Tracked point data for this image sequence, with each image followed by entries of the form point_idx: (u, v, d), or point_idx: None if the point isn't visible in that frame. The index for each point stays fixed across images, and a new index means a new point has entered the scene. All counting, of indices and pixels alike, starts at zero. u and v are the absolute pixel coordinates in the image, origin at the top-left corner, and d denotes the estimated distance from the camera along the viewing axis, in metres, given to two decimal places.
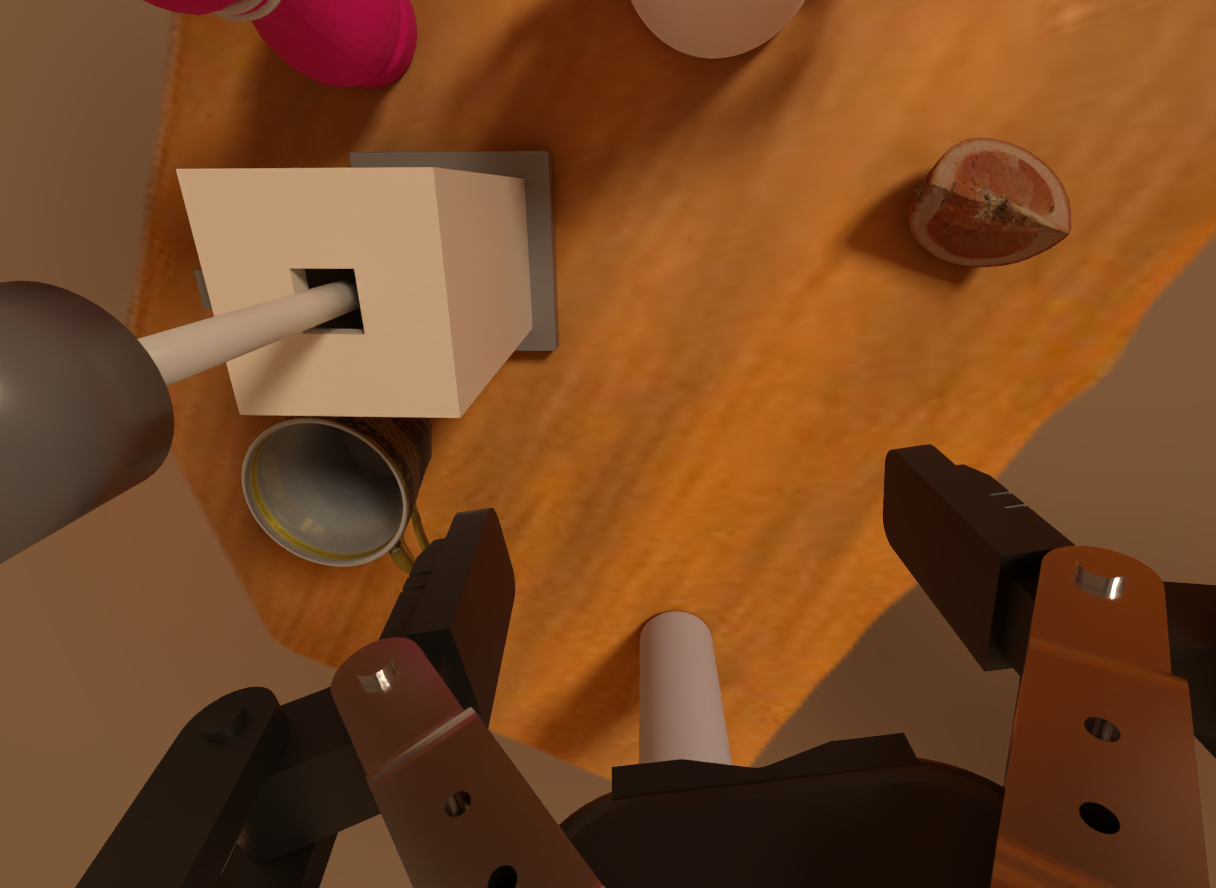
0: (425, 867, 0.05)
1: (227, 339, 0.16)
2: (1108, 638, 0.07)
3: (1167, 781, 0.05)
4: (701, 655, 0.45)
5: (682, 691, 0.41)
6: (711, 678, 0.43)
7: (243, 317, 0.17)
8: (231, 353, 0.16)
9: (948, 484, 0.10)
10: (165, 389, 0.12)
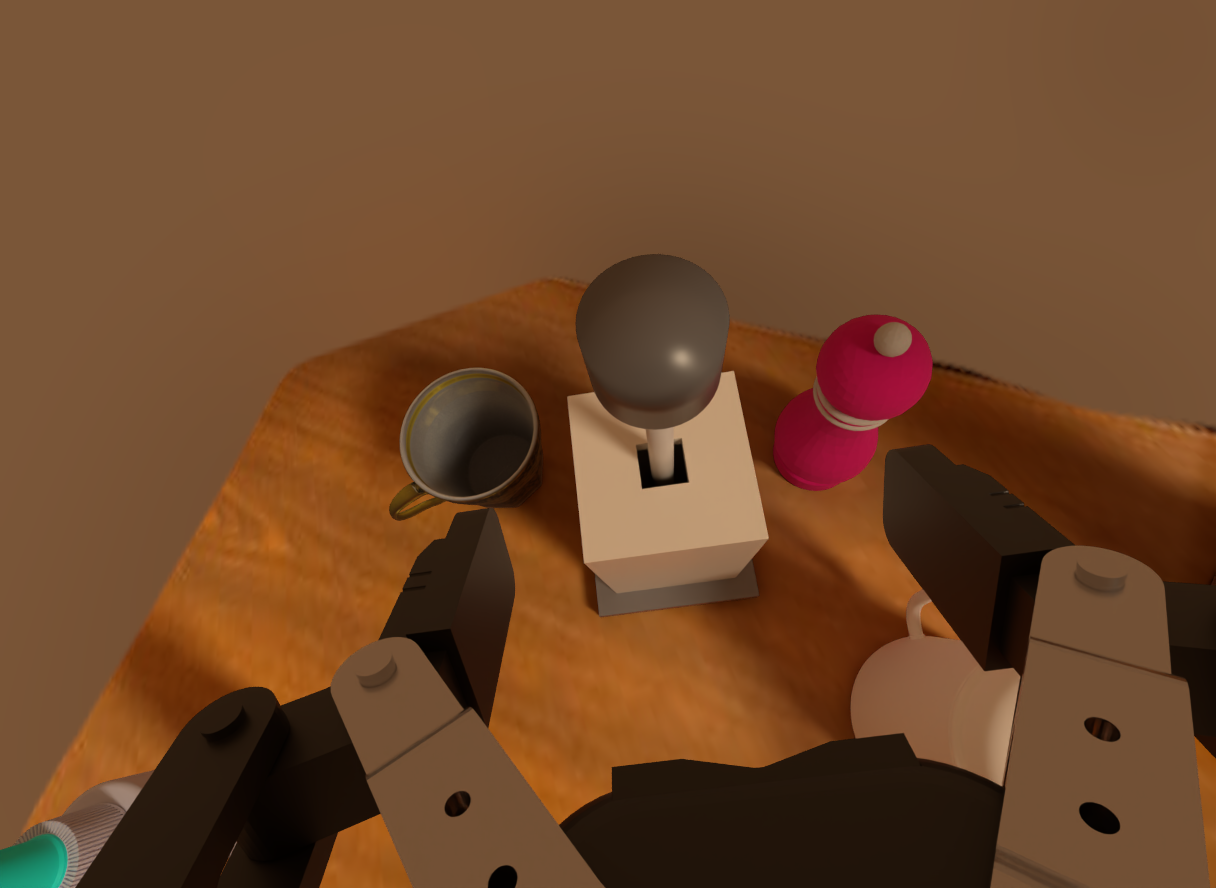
0: (425, 866, 0.05)
1: None
2: (1108, 638, 0.07)
3: (1167, 781, 0.05)
4: None
5: None
6: None
7: (672, 431, 0.25)
8: None
9: (948, 484, 0.10)
10: (668, 427, 0.19)
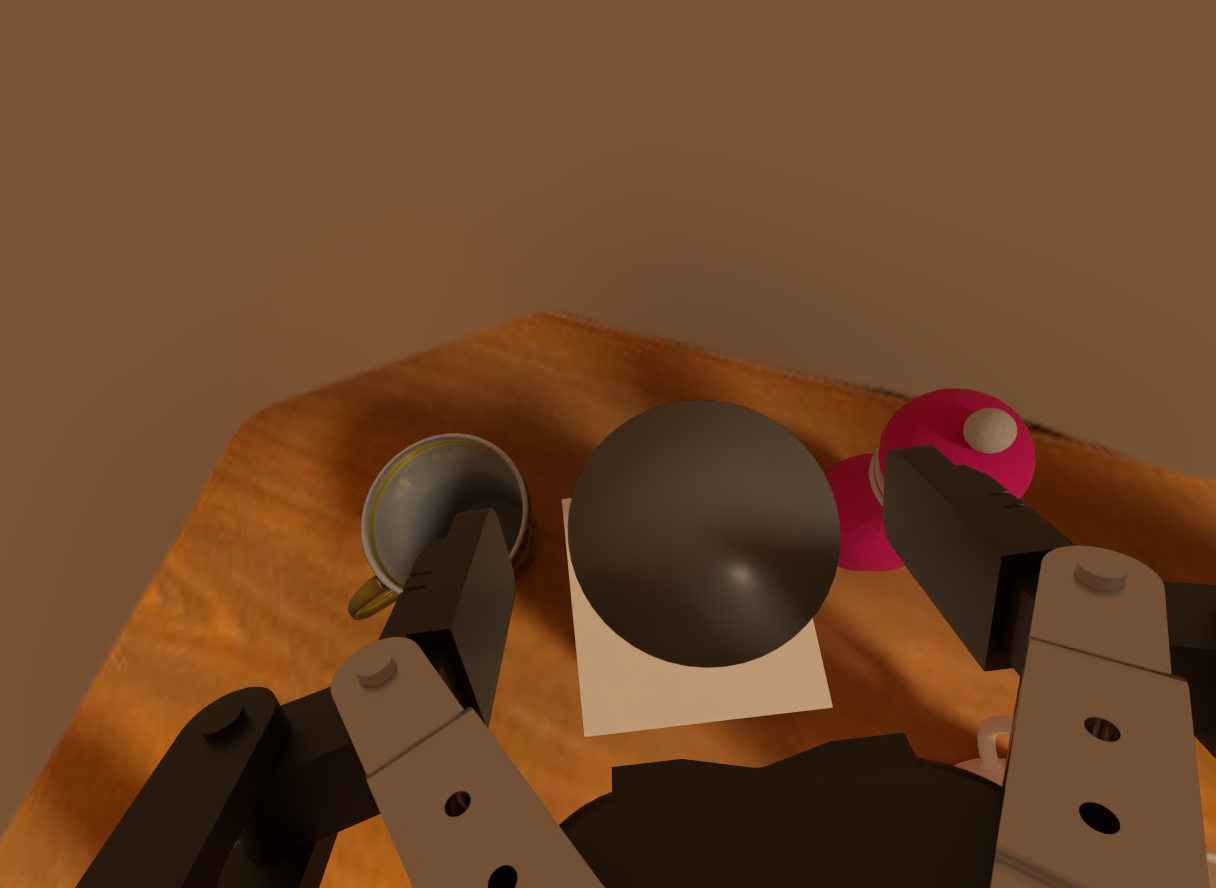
0: (425, 867, 0.05)
1: None
2: (1108, 638, 0.07)
3: (1168, 779, 0.05)
4: None
5: None
6: None
7: None
8: None
9: (948, 484, 0.10)
10: None
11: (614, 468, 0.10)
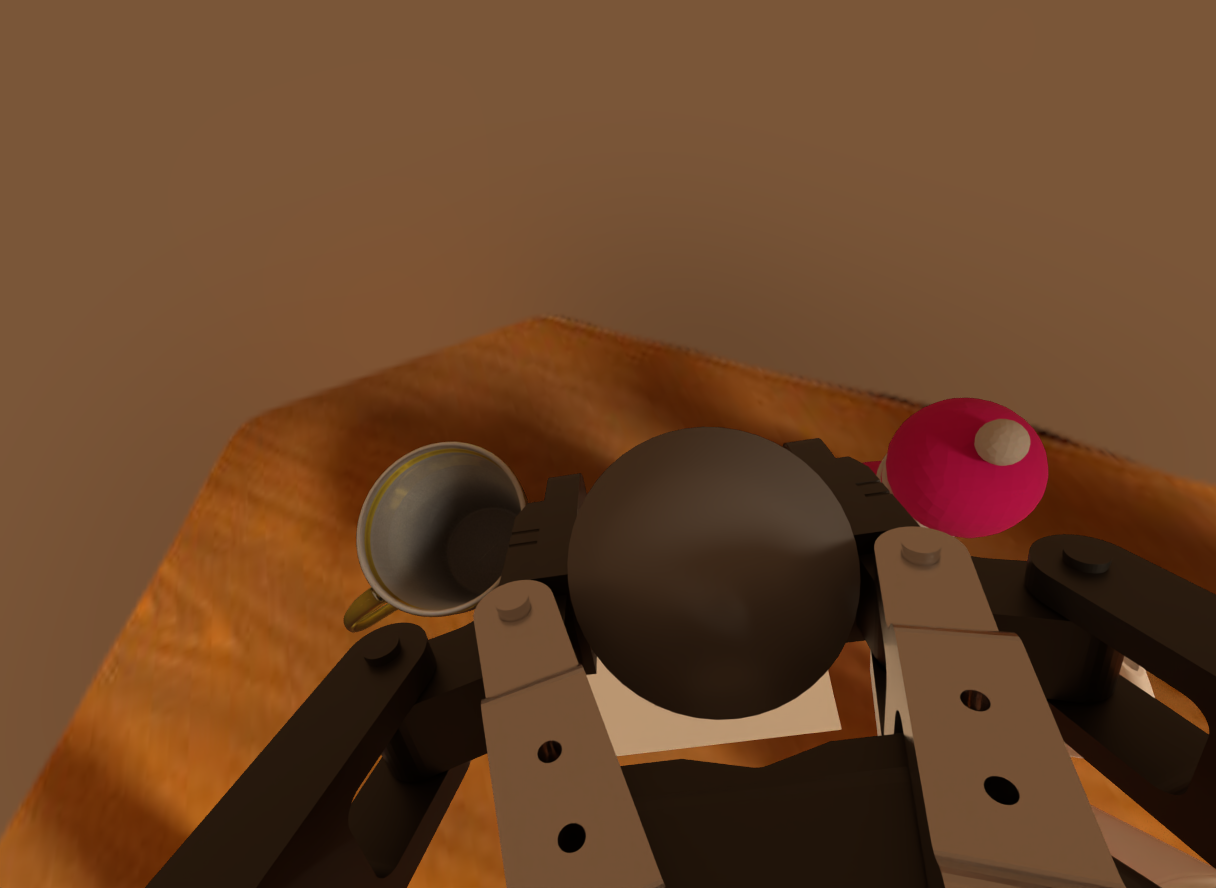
0: (510, 799, 0.06)
1: None
2: (907, 604, 0.08)
3: (1036, 734, 0.05)
4: None
5: None
6: None
7: None
8: None
9: (822, 474, 0.11)
10: None
11: (617, 500, 0.10)
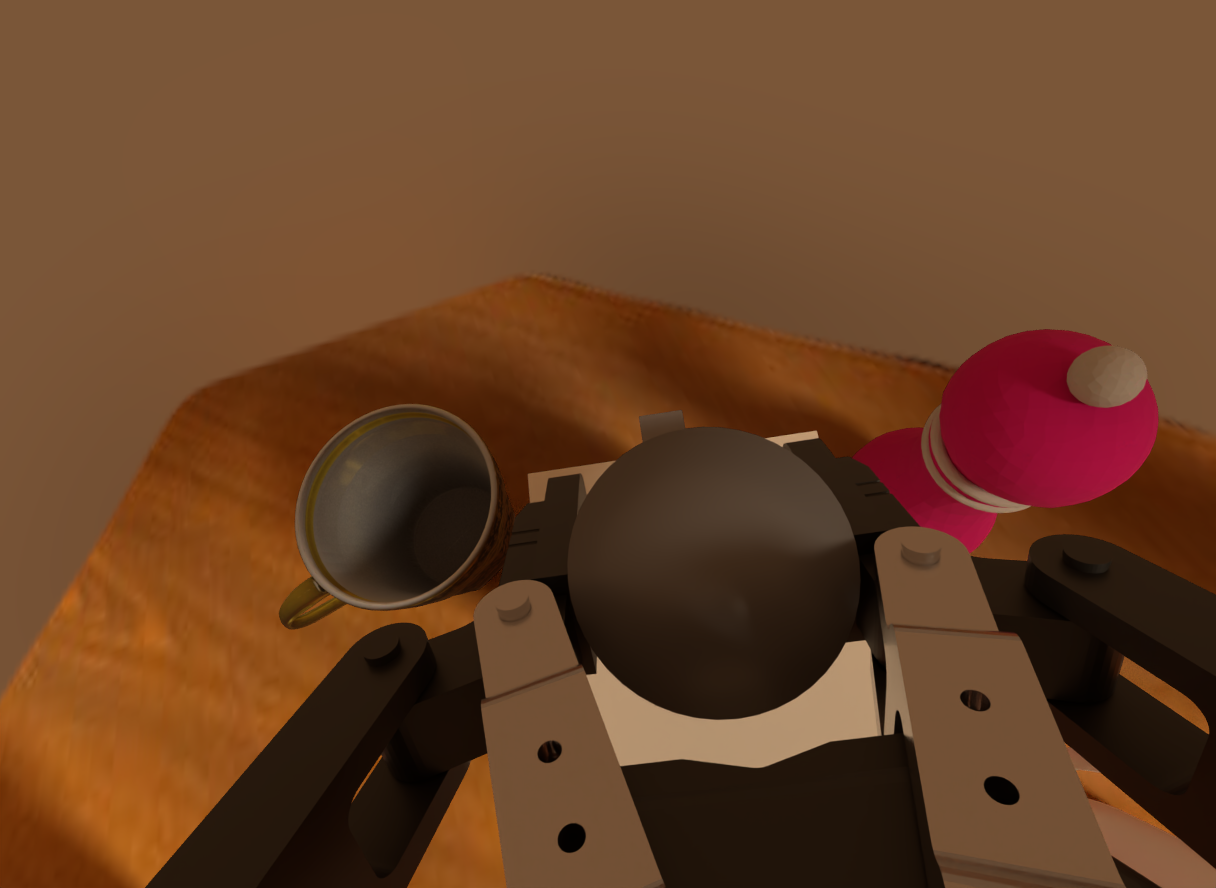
0: (509, 799, 0.06)
1: None
2: (907, 604, 0.08)
3: (1036, 733, 0.05)
4: None
5: None
6: None
7: None
8: None
9: (822, 474, 0.11)
10: None
11: (617, 500, 0.10)
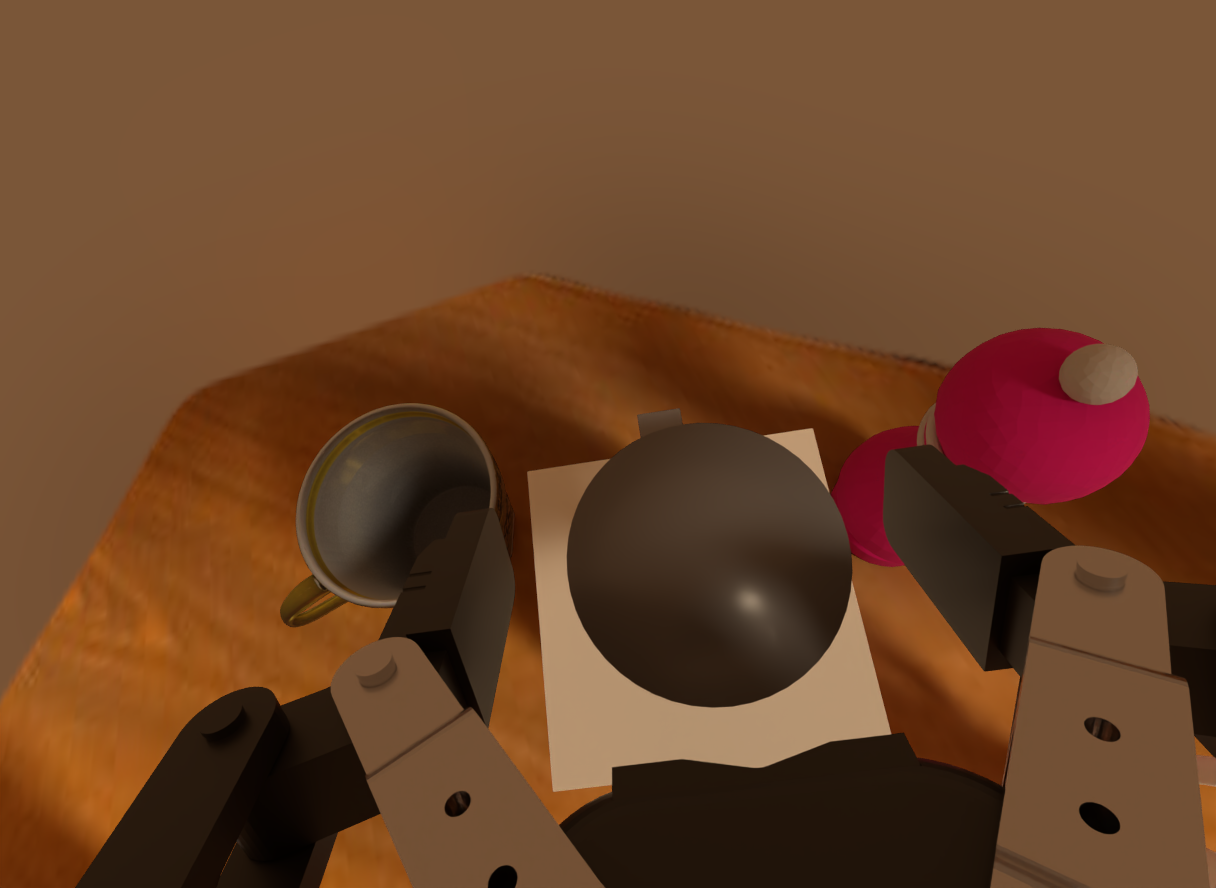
0: (425, 867, 0.05)
1: None
2: (1108, 639, 0.07)
3: (1168, 781, 0.05)
4: None
5: None
6: None
7: None
8: None
9: (948, 484, 0.10)
10: None
11: (615, 495, 0.10)
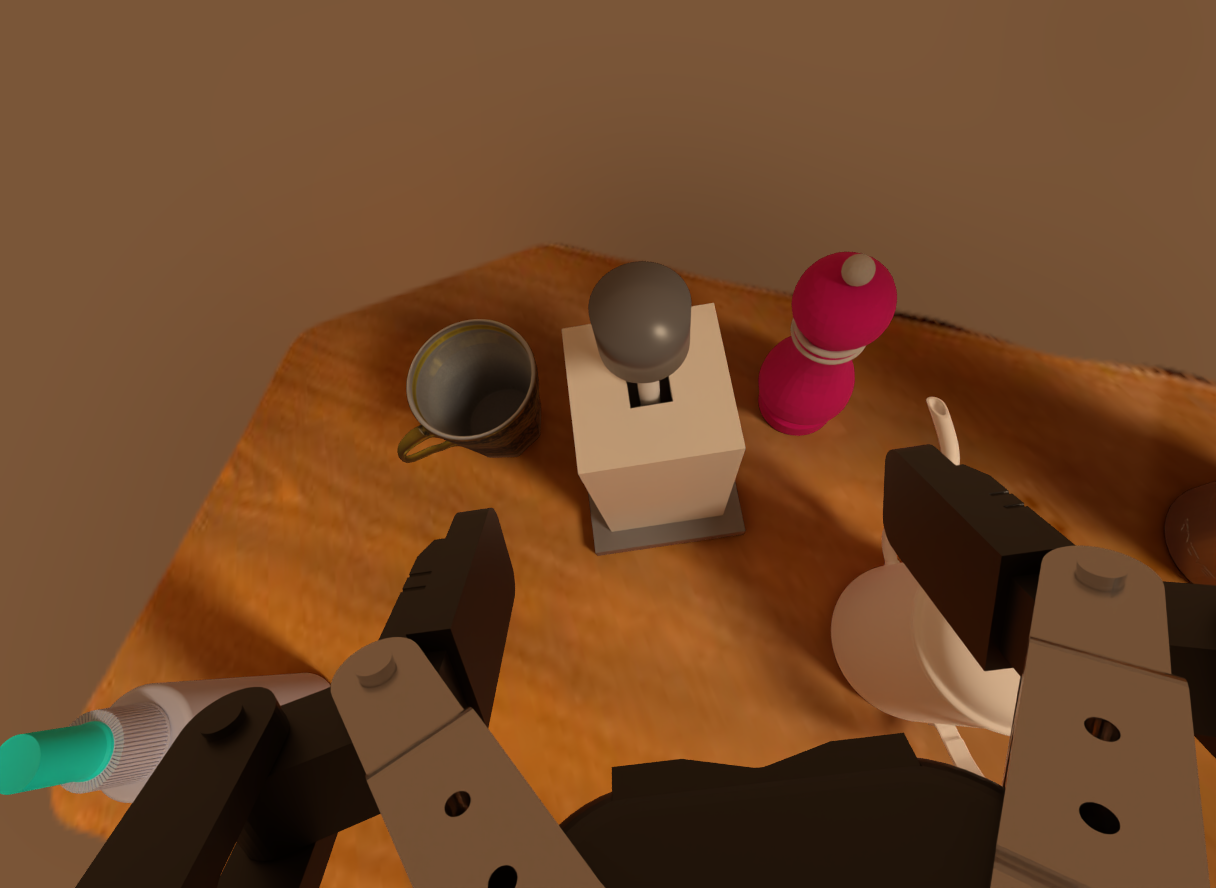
0: (425, 867, 0.05)
1: (651, 388, 0.32)
2: (1108, 638, 0.07)
3: (1167, 779, 0.05)
4: None
5: None
6: None
7: (658, 392, 0.33)
8: (644, 389, 0.32)
9: (948, 484, 0.10)
10: (653, 381, 0.28)
11: (606, 287, 0.26)
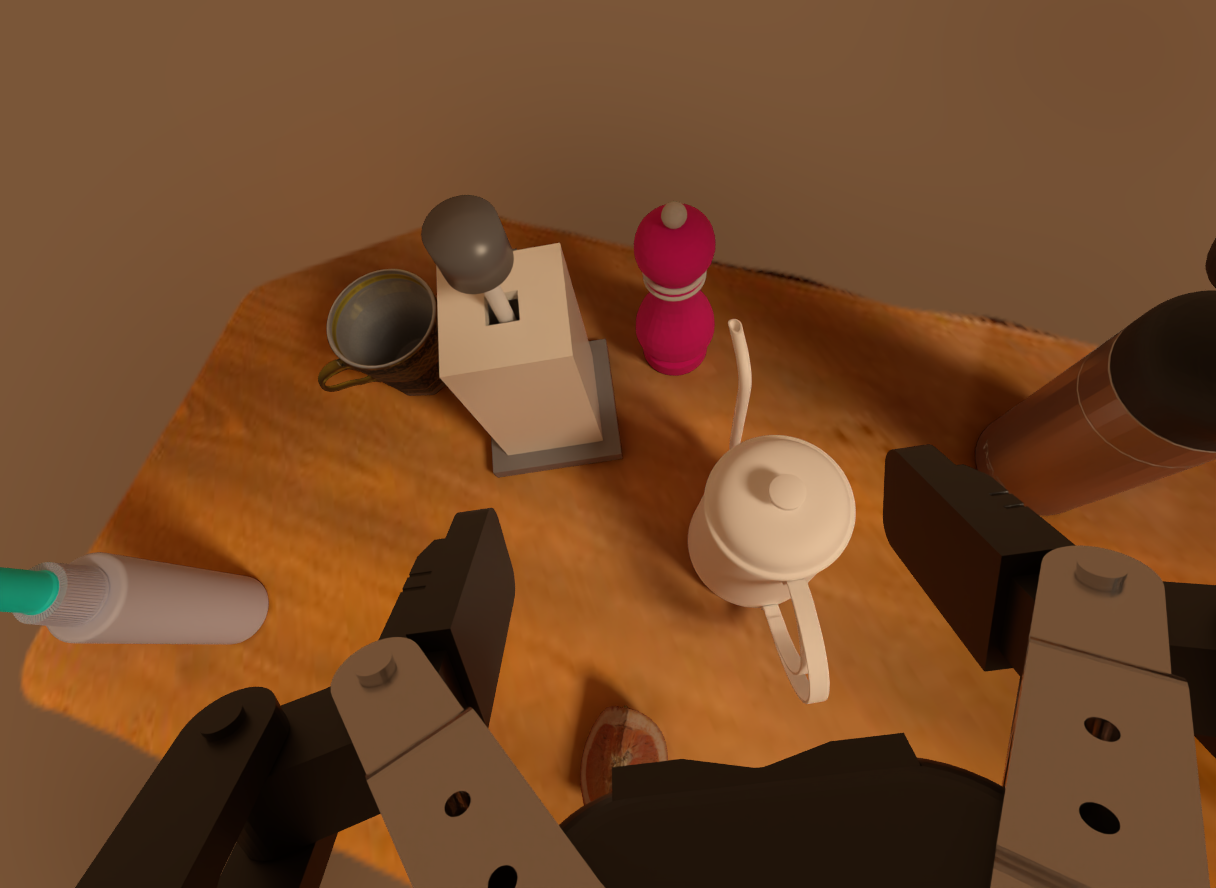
0: (425, 867, 0.05)
1: (500, 308, 0.40)
2: (1108, 638, 0.07)
3: (1167, 781, 0.05)
4: (227, 622, 0.50)
5: (197, 596, 0.46)
6: (204, 629, 0.48)
7: (510, 314, 0.41)
8: (495, 309, 0.40)
9: (948, 484, 0.10)
10: (481, 292, 0.35)
11: (437, 214, 0.33)
